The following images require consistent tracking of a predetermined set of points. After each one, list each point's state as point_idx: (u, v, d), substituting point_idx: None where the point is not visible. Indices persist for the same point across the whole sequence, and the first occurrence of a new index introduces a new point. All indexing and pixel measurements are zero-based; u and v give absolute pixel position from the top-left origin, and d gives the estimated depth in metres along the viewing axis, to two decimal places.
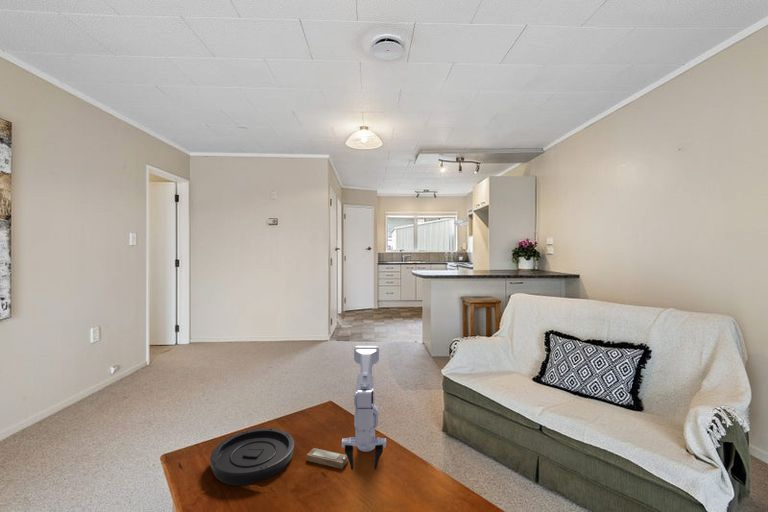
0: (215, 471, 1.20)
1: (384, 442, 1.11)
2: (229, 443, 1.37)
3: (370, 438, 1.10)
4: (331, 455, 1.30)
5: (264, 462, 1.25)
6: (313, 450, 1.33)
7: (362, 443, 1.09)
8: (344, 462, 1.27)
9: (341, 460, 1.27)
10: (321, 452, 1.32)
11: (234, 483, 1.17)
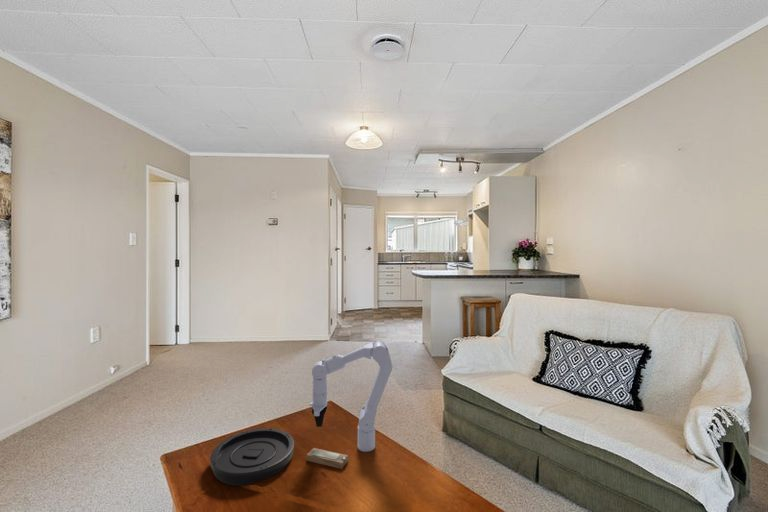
0: (215, 471, 1.20)
1: (314, 411, 1.32)
2: (229, 443, 1.37)
3: (314, 401, 1.37)
4: (331, 455, 1.30)
5: (264, 462, 1.25)
6: (313, 450, 1.33)
7: None
8: (344, 462, 1.27)
9: (341, 460, 1.27)
10: (321, 452, 1.32)
11: (234, 483, 1.17)
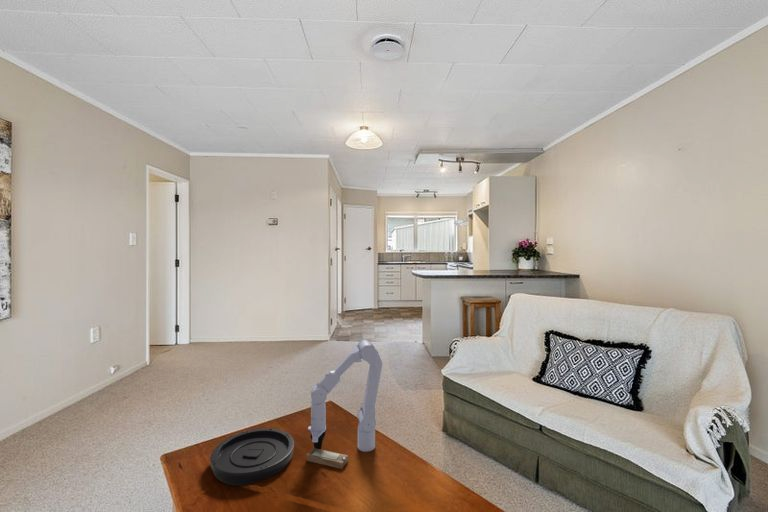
0: (215, 471, 1.20)
1: (312, 437, 1.29)
2: (229, 443, 1.37)
3: (312, 426, 1.34)
4: (331, 456, 1.30)
5: (264, 462, 1.25)
6: (313, 450, 1.33)
7: None
8: (344, 462, 1.27)
9: (341, 460, 1.27)
10: (321, 452, 1.32)
11: (234, 483, 1.17)
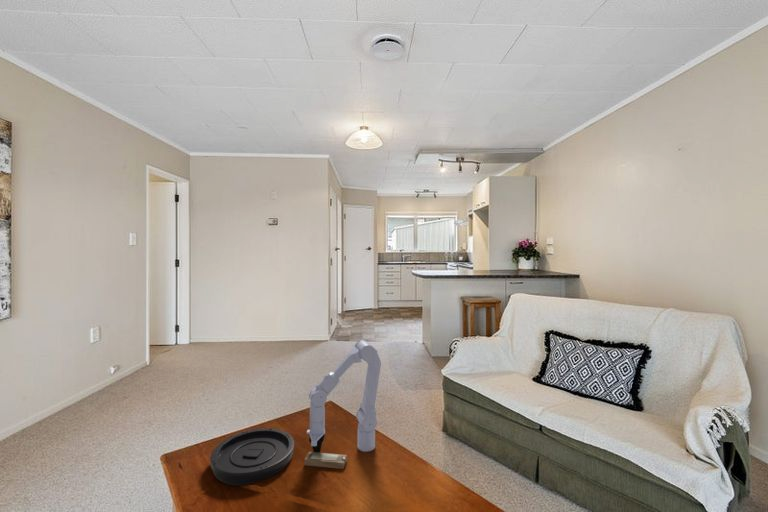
0: (215, 471, 1.20)
1: (311, 441, 1.27)
2: (229, 443, 1.37)
3: (311, 429, 1.31)
4: (330, 457, 1.29)
5: (264, 462, 1.25)
6: (310, 454, 1.31)
7: None
8: (344, 462, 1.28)
9: (342, 460, 1.27)
10: (319, 455, 1.30)
11: (234, 483, 1.17)
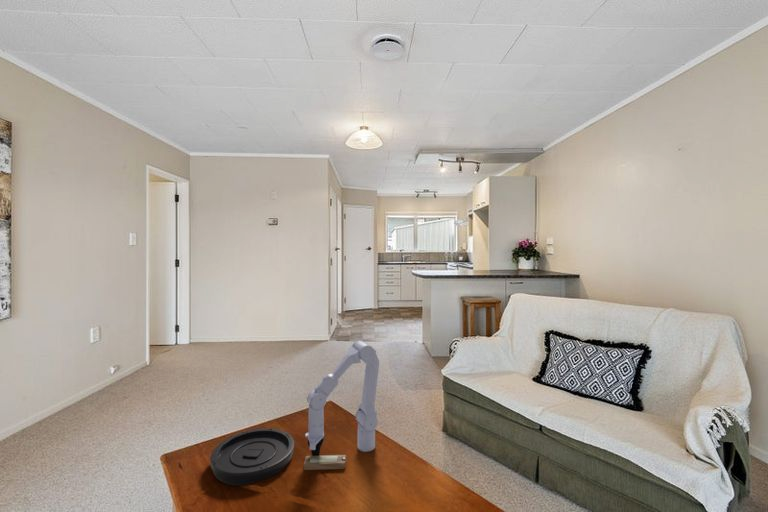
0: (215, 471, 1.20)
1: (310, 444, 1.24)
2: (229, 443, 1.37)
3: (310, 433, 1.29)
4: (330, 459, 1.28)
5: (264, 462, 1.25)
6: (307, 458, 1.28)
7: None
8: (345, 462, 1.28)
9: (342, 460, 1.27)
10: (317, 458, 1.28)
11: (234, 483, 1.17)
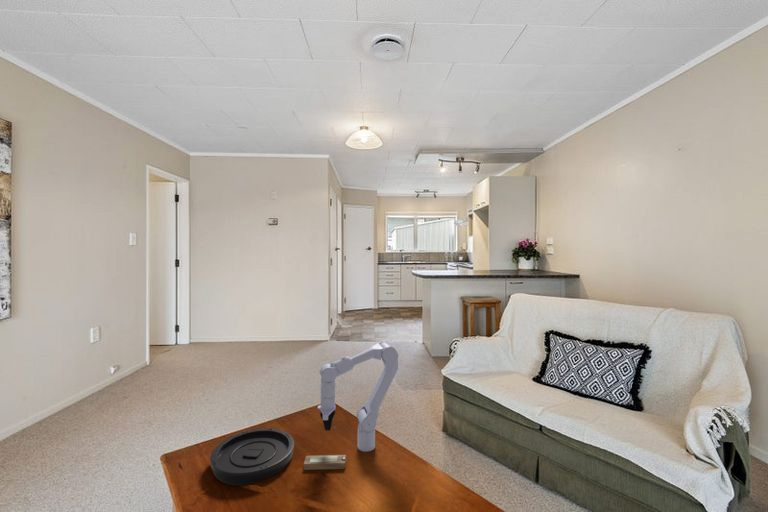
0: (215, 471, 1.20)
1: (322, 415, 1.29)
2: (229, 443, 1.37)
3: (322, 405, 1.34)
4: (330, 459, 1.28)
5: (264, 462, 1.25)
6: (307, 458, 1.28)
7: None
8: (345, 462, 1.28)
9: (342, 460, 1.27)
10: (317, 458, 1.28)
11: (234, 483, 1.17)
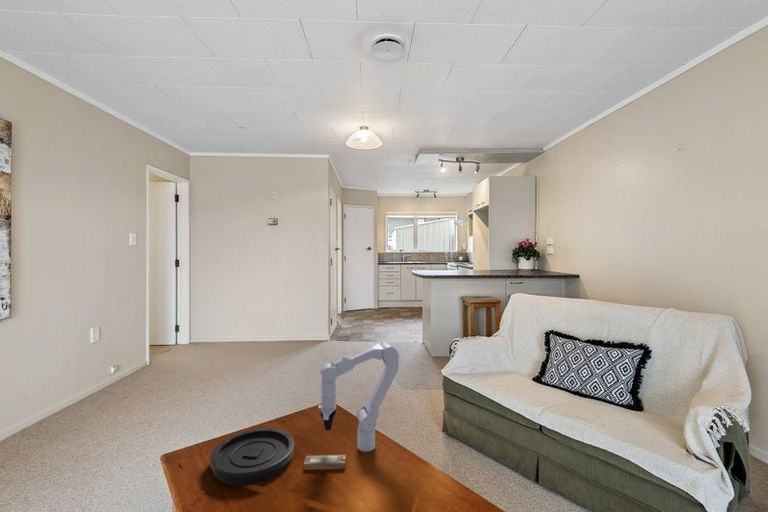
0: (215, 471, 1.20)
1: (323, 415, 1.29)
2: (229, 443, 1.37)
3: (323, 404, 1.34)
4: (330, 459, 1.28)
5: (264, 462, 1.25)
6: (307, 458, 1.28)
7: None
8: (345, 462, 1.28)
9: (342, 460, 1.27)
10: (317, 458, 1.28)
11: (234, 483, 1.17)
